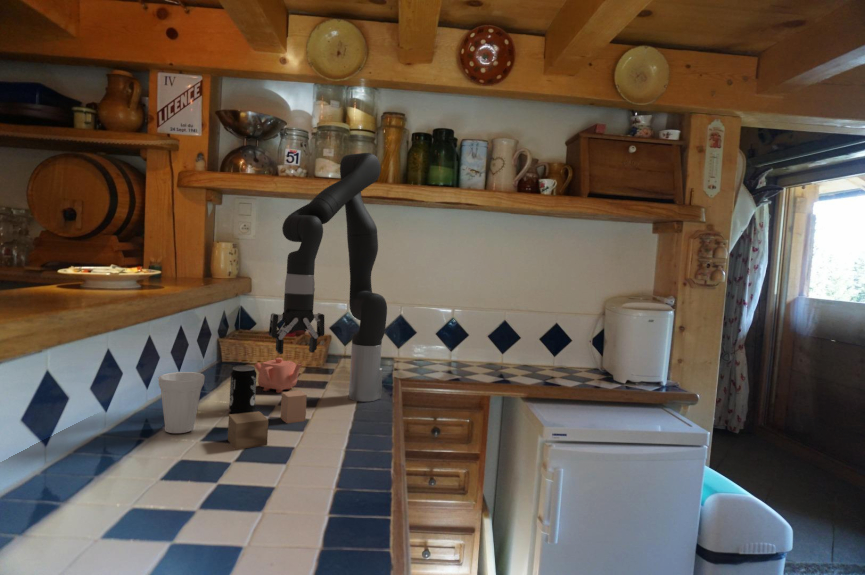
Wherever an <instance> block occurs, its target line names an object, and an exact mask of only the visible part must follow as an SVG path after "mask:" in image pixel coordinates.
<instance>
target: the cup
mask: <svg viewBox="0 0 865 575" xmlns="http://www.w3.org/2000/svg"><path fill="white" fill-rule="evenodd" d="M205 379H206V378H205V375H204V373H200V372H192V371H178V372H176V371H175V372H169V373H164V374H161V375H160V376H159V377H158V386H159V389H160V393H161V394H160V396H161V404H162V411H163V412H162V413H163V419H164V420H163V422H164V430H165V432H167V433H170V434H183V433H184V434H185V433H188V432H191V431H193V430H194V429H195V424H196V420H197V419H196V418H197V411H198V406H199V402H200V396H201V391H202V388H203V387H204V384H205Z"/></svg>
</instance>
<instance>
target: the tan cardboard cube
mask: <svg viewBox="0 0 865 575" xmlns="http://www.w3.org/2000/svg"><path fill="white" fill-rule="evenodd" d="M307 397H308V395H307V394H306V393H305V392H303V391H302V390H291V391H283V392H282V393H281V398H280V399H281V400H280V419H281V420H282V421H283V422H285V423H286V424H293V423H301V422H305V421H306V415H307V414H306V413H307Z"/></svg>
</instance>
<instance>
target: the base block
mask: <svg viewBox="0 0 865 575" xmlns="http://www.w3.org/2000/svg"><path fill="white" fill-rule="evenodd" d="M227 422H228V424H227V426H228V427H227V441H228V442H229V443H230V445H231V446H232V447H233V449H234V450H243V449H249V448H257V447H264V446H268V436H269V435H268V434H269V432H268V431H269V419H268V418H267V417H266V416H265V415H264V414H263V413H262V412H261V411H252V412H249V413H239V414H235V413H232V414H228V421H227Z"/></svg>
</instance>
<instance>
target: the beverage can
mask: <svg viewBox="0 0 865 575" xmlns="http://www.w3.org/2000/svg"><path fill="white" fill-rule="evenodd" d="M229 386H230V387H229V388H230V389H229V411H230V412H231V413H232V414H239V413H249V412H254V411H255V409H256V396H257V395H256V393H257V392H256V391H257V371H256V368H255V367H254V366H252V365H236V366H233V367H232V371H231V373H230V385H229Z"/></svg>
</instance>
